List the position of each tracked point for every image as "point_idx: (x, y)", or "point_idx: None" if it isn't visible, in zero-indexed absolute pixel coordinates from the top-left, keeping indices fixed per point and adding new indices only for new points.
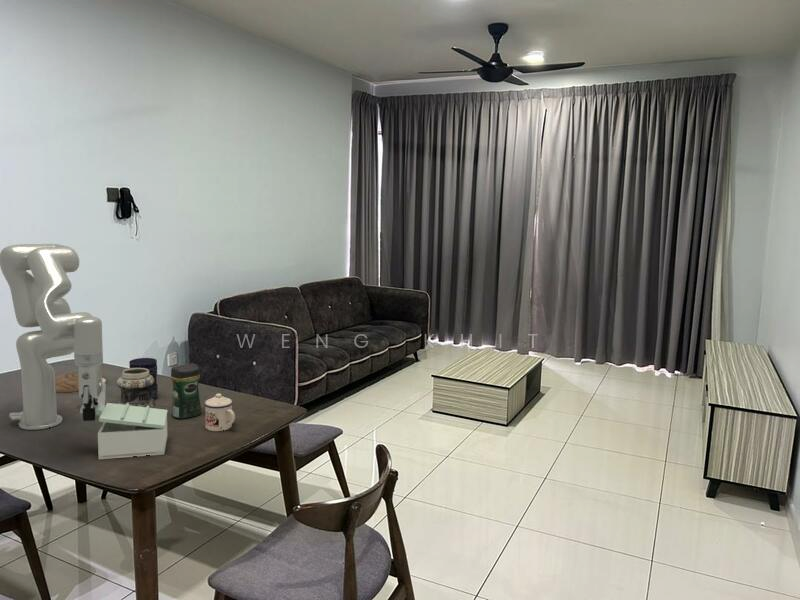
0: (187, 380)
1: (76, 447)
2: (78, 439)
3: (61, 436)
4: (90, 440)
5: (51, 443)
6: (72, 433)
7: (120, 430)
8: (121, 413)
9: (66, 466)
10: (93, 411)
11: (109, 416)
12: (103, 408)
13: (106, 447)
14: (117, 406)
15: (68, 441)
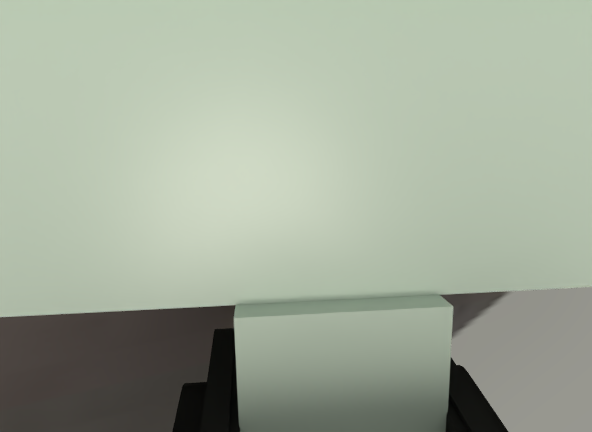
0: None
1: (225, 308)
2: (102, 326)
3: (54, 409)
4: None
5: (154, 423)
6: (4, 374)
7: None
8: (398, 11)
9: (469, 295)
10: (472, 405)
11: (576, 169)
12: (353, 313)
13: None
14: (67, 128)
15: (131, 363)
